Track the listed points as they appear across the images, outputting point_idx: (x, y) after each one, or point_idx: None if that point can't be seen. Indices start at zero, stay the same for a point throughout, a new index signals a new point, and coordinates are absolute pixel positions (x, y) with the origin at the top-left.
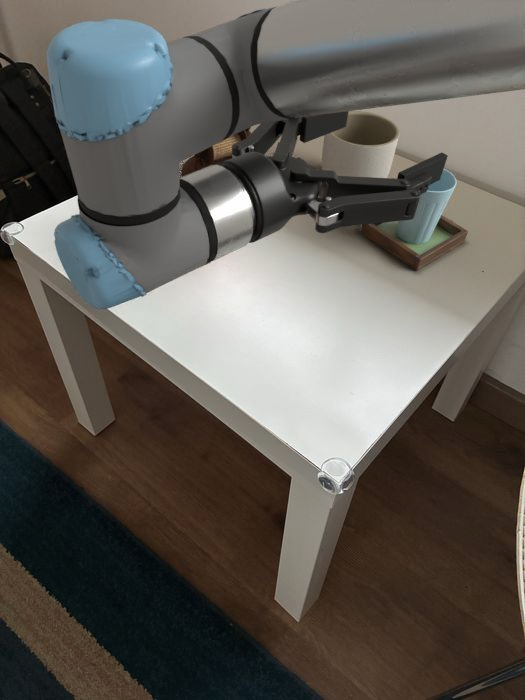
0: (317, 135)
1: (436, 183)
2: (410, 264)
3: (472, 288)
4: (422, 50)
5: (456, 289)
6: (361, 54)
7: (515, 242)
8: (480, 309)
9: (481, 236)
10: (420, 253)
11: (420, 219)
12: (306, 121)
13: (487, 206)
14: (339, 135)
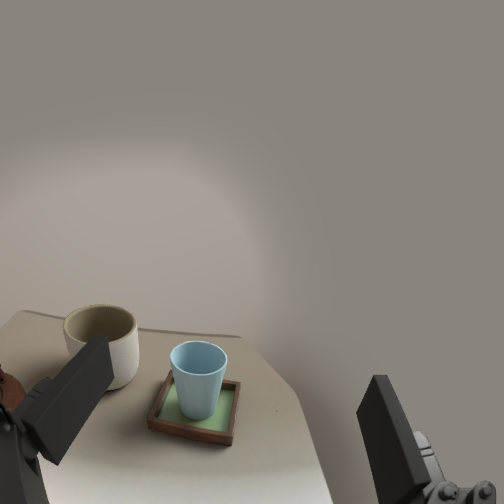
0: (74, 432)
1: (198, 356)
2: (221, 443)
3: (286, 432)
4: None
5: (277, 442)
6: None
7: (270, 369)
8: (310, 447)
9: (246, 378)
10: (220, 425)
11: (207, 399)
12: (36, 431)
13: (226, 348)
14: (78, 332)
